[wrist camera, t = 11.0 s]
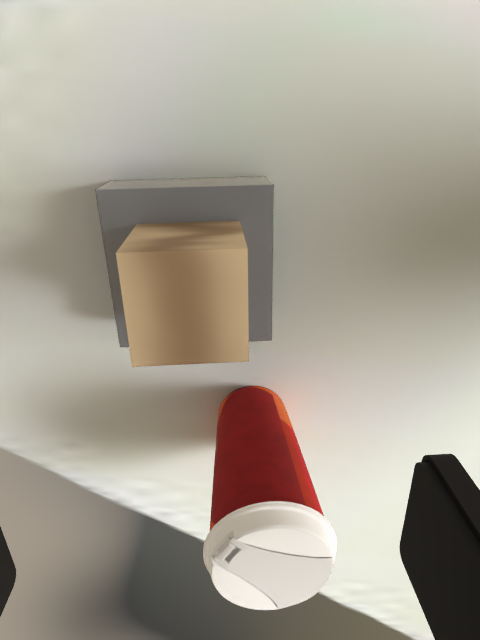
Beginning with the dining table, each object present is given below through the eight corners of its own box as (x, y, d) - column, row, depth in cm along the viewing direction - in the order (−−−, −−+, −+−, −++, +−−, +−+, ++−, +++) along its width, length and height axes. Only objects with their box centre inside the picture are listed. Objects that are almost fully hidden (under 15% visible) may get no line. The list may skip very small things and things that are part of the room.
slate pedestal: (265, 176, 28) (273, 184, 24) (264, 315, 32) (271, 340, 29) (110, 180, 28) (95, 189, 24) (130, 321, 32) (120, 347, 28)
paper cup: (188, 426, 36) (176, 590, 24) (238, 358, 34) (254, 501, 21) (264, 462, 38) (290, 630, 26) (317, 401, 36) (374, 554, 23)
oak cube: (240, 220, 25) (247, 248, 20) (241, 314, 28) (249, 361, 22) (136, 224, 25) (115, 253, 20) (148, 317, 28) (132, 366, 22)
